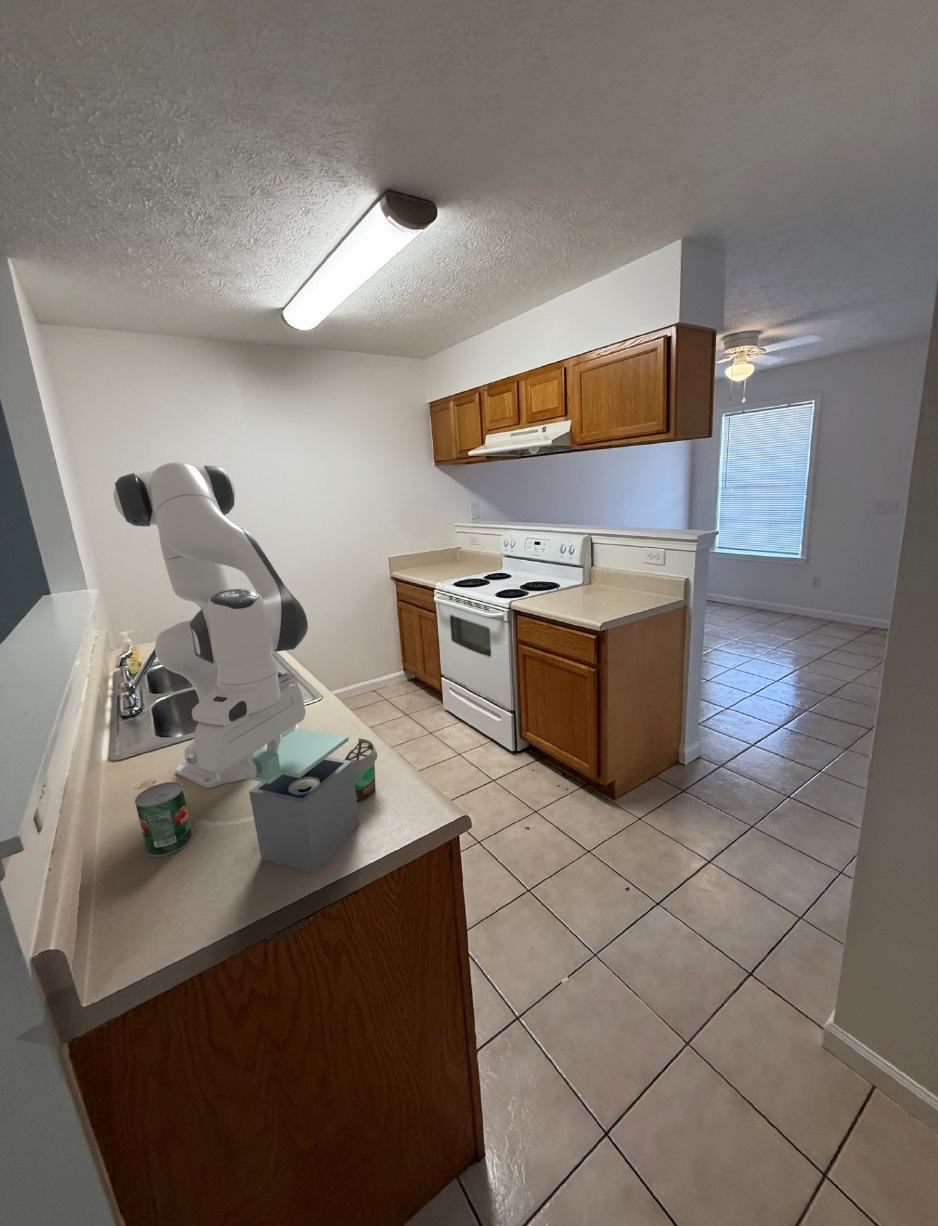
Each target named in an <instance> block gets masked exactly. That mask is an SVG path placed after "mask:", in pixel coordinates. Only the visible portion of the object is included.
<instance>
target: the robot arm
mask: <svg viewBox="0 0 938 1226" xmlns="http://www.w3.org/2000/svg"><path fill="white" fill-rule="evenodd" d="M114 486H115V487H114V489H113V501H114V504H115V507H116V509H117V511H118V512H119V514H120V515H121V517H123V518H124V519H125V521H126V523H129V524H130V525H132V526H133V527H134V526H136V527H151V526H152V525H154V526H155V525H156V526H157V529H158V534H159V535H158V536H159V537H158V538H159V544H160V548H161V553H162V556H163V557H162V558H163V560H164V564H165V566H166V571H167V574H168V578H169V580H170V581H169V582H170V584H171V588H172V591H173V592H174V594H175V595H176V596H177V597H179V598H180V599H182V600H184V601H187V602H192V603H195V604H196V605H197V606H198V607H199V609H200V610H199V611H198V612H197V613H196V614H195V615H194V617H193V618H192V619H189V620H186V621H181V622H179V623H177V624H175V625H172V626H171V627H168V628H167V629H164V630H163V631H161V632H160V633H159V634H158V635H157V638H156V640H155V643H154V652H155V655H156V658H157V660H158V662H159V663H160V665H162V666H163V668H164V669H166V670H168V671H170V672H173V673H175V674H178V675H180V676H182V677H184V678H185V679H186V680H187V681H188V682H189V683H190V684H191V685H192V687H193V689H194V690H195V692H196V695H197V698H198V701H199V702H198V703H197V704H196V705H195V706H194V707H193V708H192V710H191V717H192V720H193V721H195V723H197V724H196V727H195V730H194V736H193V737H194V738H193V739H192V740H191V741H190V742H189V743H187V745H186V746H185V748H184V760H183V761H182V762H180V764H178V765H177V767H176V769H175V774H177V775H179V776H180V777H183V778H184V779H188V780H189V781H191V782H194V783H196V784H198V785H200V786H202V787H204V788H206V789H211V788H214V787H218V786H221V785H224V784H227V783H234V782H238V781H242V780H245V779H246V774H247V775H248V776H250V777H255V776H256V775H258V774H259V773H261V769H260V768H261V765H260V763H255V762H253V761H252V760H251V759H253V758H254V754H253V753H254V752H255V751H257V750H261V751H262V750H264V749H266V748H267V749H266V752H271V753H276V754H277V751H278V748H279V744H280V741H281V739H282V737H281V734H283V733H284V732H286V731H287V730H289V729H290V728H292V727H293V726H295V725H298V724H299V723H301V722H302V721H304V720H305V716H306V706H305V702H304V698H303V694H302V691H301V688H300V687H299V684H298V678H297V676H295V675H294V674H293V673H290V672H286V673H284V674H282V675H280V676H279V673H278V667H277V664H276V662H275V660H274V656H273V652H275V653H277V652H284V651H291V650H295V649H296V648H297V647H298V646H299V645H300V644H301V642H302V641H303V640H304V638H305V637H306V635H307V633H308V628H309V624H308V619H307V614H306V613H305V610H304V607H303V606H302V604H301V603H300V601H299V600H298V599H297V598H296V597H295V596H294V594H292V592H291V591H290V590H289V589H288V588H287V586H286V584H285V583H284V581H283V580H282V578H281V577H280V575H279V574H278V573H277V570H276V569H275V568H274V565H272V563H271V561H270V560H269V558H268V557H267V555H266V553H265V552H264V550H263V549H262V547H261V546H260V545H259V543H258V542H257V540H256V539H255V538H254V536H253V535H252V534H251V533H250V532H249V531H248V530H246V529H244V528H242V527H239V526H238V525H236V524H235V523H233V522H232V521H231V520H230V519H229V518H228V517H226V515H228V514H229V513H230V512H231V511H232V510H233V508H234V506H235V501H236V489H235V485H234V483H233V481H232V479H231V478H230V476H229V475H228V473H227V471H226V470H225V469H223V468H222V467H220V466H214V465H204V466H192V465H190V464H187V463H183V462H174V461H173V462H168V463H164V464H162V465H160V466H159V467H157V468H156V469H155V470H153V471H152V470H151V471H145V472H140V473H137V474H136V473H134V472H133V473H129V474H125V475H123V476H120V477H118V479H117V480H116V481H115V482H114ZM223 566H226V567H227V566H228V567H230V568H231V567H232V568H234V569H236V570H238V571H239V572H242V573H243V574H244V575H245V576H246V577H247V579H248V581H249V582H250V583H251V585H252V588H254V590H251V589H246V588H232V587H231V586H230V583H229V581H228V578H227V576H226V573H225V570H224V567H223Z"/></svg>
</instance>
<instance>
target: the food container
mask: <svg viewBox="0 0 938 1226" xmlns="http://www.w3.org/2000/svg"><path fill="white" fill-rule="evenodd" d="M377 758H378V753H377V749H376V746H375V745H374V743H373V742H372V741H370V740H368V739H365V738H358V743H357V744H356V745H355V746H354V748H352V749H351V750H350V751H349V752H348V753H347V755H346V756H345V758H344V760H348V761H352V767H353V775H354V783H355V791H356V799H357V804H358V803H361V802H364V801H366V800H367V799H369V798H371V797H372V796H373V795H374V794H375V792H376V767H375V763H376V761H377Z"/></svg>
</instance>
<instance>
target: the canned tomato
mask: <svg viewBox="0 0 938 1226" xmlns="http://www.w3.org/2000/svg"><path fill="white" fill-rule="evenodd" d="M183 788H184V787H183V784H182V783H181V782H176V781H167V782H162V783H159V784H155V785H153V786H150V787H148V788H146V789H144V790H143V791H141V792H140V793H139V794H138V795H137V796H136V797H135V799H134V804H135V807H136V812H137V816H138V820H139V824H140V828H141V833H142V835H143V841H144V845H145V847H146V853H147V855H149V856H150V857H155V858H157V857H158V858H159V857H166V856H169V855H172V854H175V853H176V852H179V851H180V850H183V849H184V848H185V847H186V846H188V845H189V844H190V842H191V841H192V840H193V837H194V833H193V830H192V825H191V822H190V821H191V820H190V815H189V812H188V807H187V802H186V801H187V800H186V797H185V793H184V789H183Z"/></svg>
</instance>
